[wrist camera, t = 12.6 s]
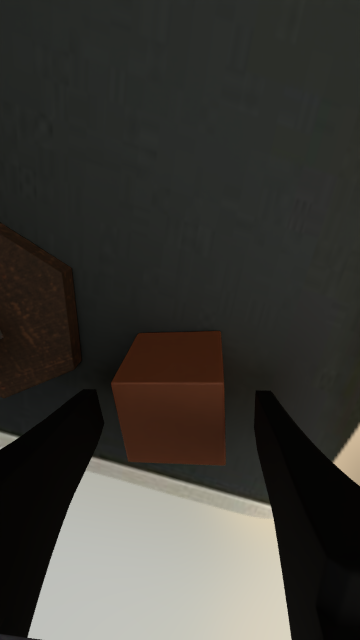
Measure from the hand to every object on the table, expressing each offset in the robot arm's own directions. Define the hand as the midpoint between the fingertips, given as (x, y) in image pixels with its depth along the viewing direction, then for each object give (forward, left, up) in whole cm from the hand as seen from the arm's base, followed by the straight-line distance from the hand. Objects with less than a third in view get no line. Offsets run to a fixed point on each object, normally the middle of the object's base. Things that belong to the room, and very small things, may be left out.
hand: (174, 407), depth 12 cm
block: (0, 0, -3) cm, 3 cm away
